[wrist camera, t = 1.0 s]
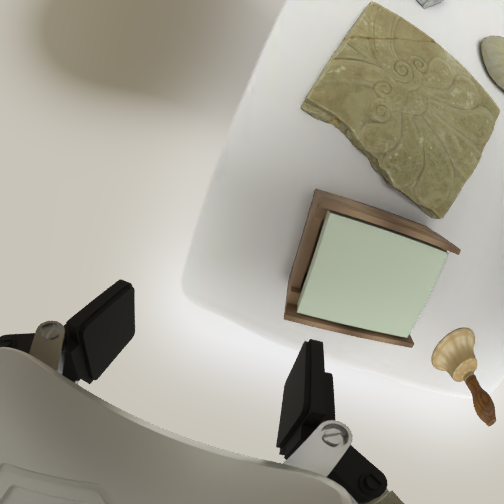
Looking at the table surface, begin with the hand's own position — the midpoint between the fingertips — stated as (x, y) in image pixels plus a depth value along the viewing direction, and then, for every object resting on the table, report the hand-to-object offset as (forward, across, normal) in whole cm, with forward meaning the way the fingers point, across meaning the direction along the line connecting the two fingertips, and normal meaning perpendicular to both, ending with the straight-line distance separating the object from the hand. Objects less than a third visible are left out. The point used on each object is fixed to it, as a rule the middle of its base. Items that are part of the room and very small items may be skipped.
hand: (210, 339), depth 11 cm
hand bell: (+20, -33, +10) cm, 40 cm away
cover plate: (+14, -11, 0) cm, 18 cm away
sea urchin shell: (+20, -26, -32) cm, 46 cm away
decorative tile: (+21, -12, -18) cm, 30 cm away
